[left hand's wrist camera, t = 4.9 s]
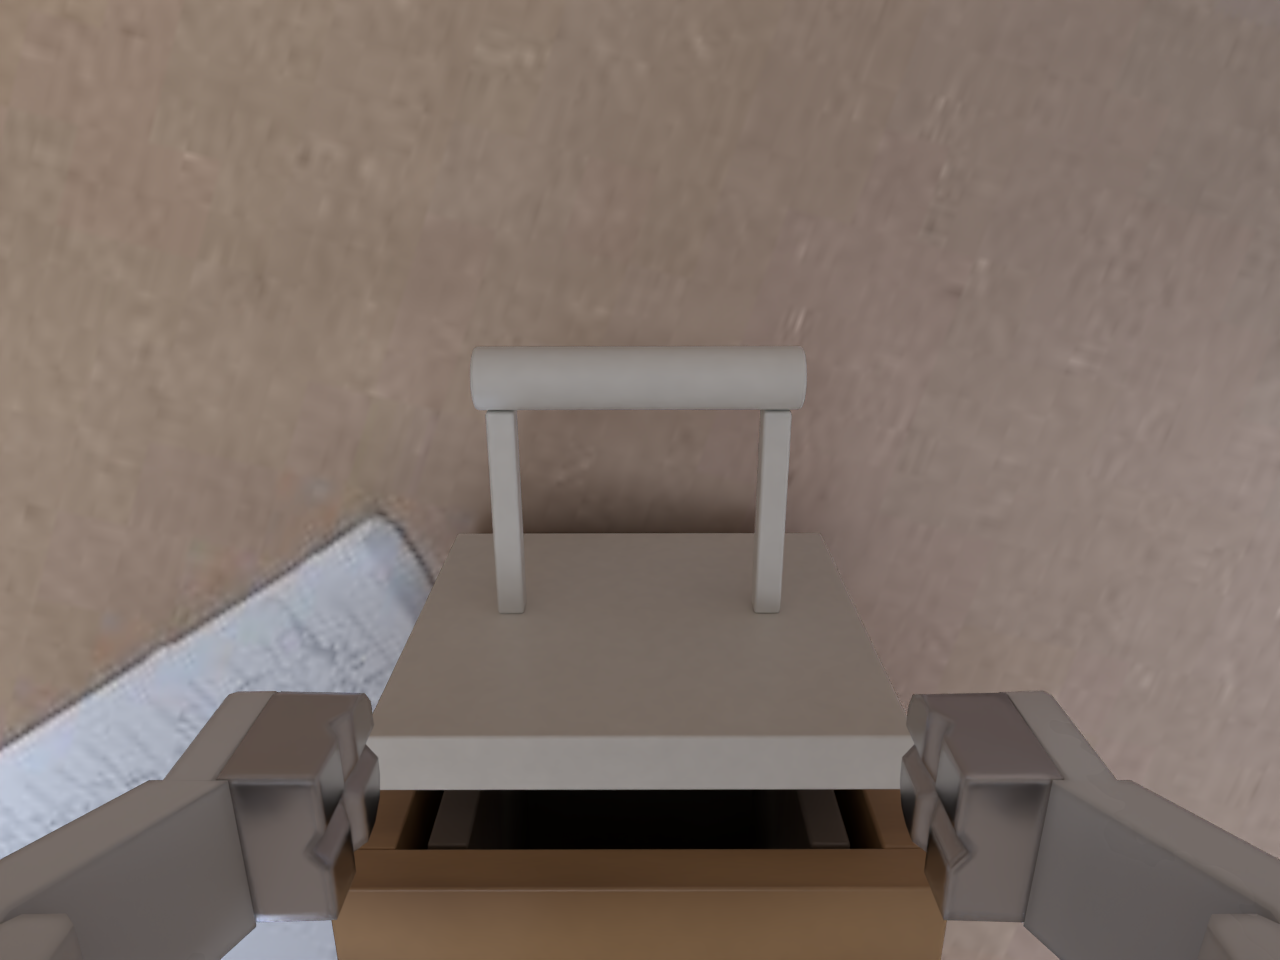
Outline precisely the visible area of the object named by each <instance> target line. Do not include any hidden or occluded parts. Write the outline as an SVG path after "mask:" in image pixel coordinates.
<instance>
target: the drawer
mask: <svg viewBox="0 0 1280 960" xmlns="http://www.w3.org/2000/svg"><path fill="white" fill-rule="evenodd" d="M806 387H807V363H806V356H805V352H804V349H803V347H801V346H477V347H475V348H474V350H473V352H472V356H471V363H470V388H471V396H472V401H473V404H474V406H475V408H476V409H478V410H488V411H487V413H486V415H485V417H486V433H487V448H488V464H489V479H490V495H491V510H492V526H493V534H458V535H457V537H456V539H455V541H454V543H453V546H452V548H451V550H450V552H449V554H448V556H447V558H446V560H445V562H444V565H443V567H442V569H441V571H440V573H439V575H438V577H437V579H436V581H435V584H434V586H433V588H432V590H431V592H430V594H429V596H428V598H427V600H426V603H425V605H424V607H423V609H422V611H421V613H420V615H419V617H418V619H417V622H416V624H415V626H414V628H413V630H412V632H411V634H410V636H409V638H408V641H407V643H406V645H405V647H404V649H403V651H402V653H401V655H400V657H399V660H398V662H397V664H396V666H395V668H394V670H393V672H392V674H391V676H390V678H389V681H388V683H387V685H386V687H385V689H384V691H383V693H382V695H381V697H380V700H379V702H378V704H377V706H376V708H375V710H374V712H373V721H374V726H373V729H372V731H371V733H370V735H369V738H368V740H367V742H366V745H367V746H368V747H369V748H370V749H371V750H372V751H373V752H374V753H375V755H376V756H377V757H378V760H379V769H380V790H444V793H443V796H442V799H441V803H440V806H439V809H438V813H437V816H436V819H435V822H434V826H433V829H432V832H431V835H430V839H429V842H428V850H454V849H850V842H849V839H848V835H847V832H846V829H845V825H844V822H843V819H842V815H841V812H840V809H839V806H838V802H837V799H836V796H835V792H834V789H900V773H901V762H902V757H903V756H904V755H905V754H906V752H907V751H908V750H909V749H910V748H911V747H912V746H913V745H914V742H913V740H912V737H911V735H910V733H909V731H908V728H907V726H906V721H907V716H906V714H905V712H904V709H903V707H902V705H901V703H900V701H899V699H898V697H897V695H896V693H895V690H894V688H893V686H892V684H891V682H890V680H889V678H888V676H887V673H886V671H885V669H884V667H883V665H882V663H881V661H880V659H879V657H878V654H877V652H876V650H875V648H874V646H873V644H872V642H871V640H870V637H869V635H868V633H867V631H866V629H865V627H864V625H863V623H862V621H861V618H860V616H859V614H858V612H857V610H856V608H855V606H854V604H853V601H852V599H851V597H850V595H849V593H848V591H847V589H846V587H845V585H844V582H843V580H842V578H841V576H840V574H839V572H838V570H837V568H836V565H835V563H834V561H833V559H832V557H831V555H830V553H829V551H828V549H827V546H826V544H825V542H824V540H823V538H822V536H821V534H820V533H785V521H786V504H787V487H788V470H789V454H790V437H791V420H792V414H791V412H790V410H798V409H801V408H802V406H803V404H804V400H805V396H806ZM517 410H760V427H759V448H758V470H757V491H756V512H755V533H551V534H523V518H522V499H521V480H520V460H519V441H518V421H517Z"/></svg>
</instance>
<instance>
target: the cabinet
mask: <svg viewBox="0 0 1280 960" xmlns="http://www.w3.org/2000/svg"><path fill="white" fill-rule="evenodd" d="M834 792H835V796H836V799H837V802H838V806H839V809H840V812H841V815H842V819H843V822H844V825H845V829H846V832H847V835H848V839H849V842H850V849H454V850H428V842H429V839H430V835H431V832H432V829H433V826H434V822H435V819H436V816H437V813H438V809H439V806H440V803H441V799H442V796H443V793H444V790H380V799H379V804H378V810H377V816H376V821H375V824H374V827H373V830H372V832H371V835H370V838H369V840H368V842H366V843H365V844H364V845H363V846H361V847H360V848H359V849H357V850H356V851H355V852H354V858H355V866H356V874H355V876H354V879H353V881H352V884H351V886H350V889H349V891H348V894H347V896H346V899H345V901H344V904H343V906H342V909H341V911H340V914H339V916H338V918H337V920H332V926H333V932H334V938H335V945H336V951H337V957H338V960H941V954H942V948H943V941H944V935H945V928H946V922H947V920H943V918H942V915H941V913H940V910H939V908H938V906H937V903H936V901H935V898H934V896H933V893H932V891H931V888H930V886H929V883H928V881H927V878H926V876H925V873H924V866H925V859H926V852H925V851H924V850H923V849H922V848H920V847H919V846H918V845H916V844H915V843H914V842H912V840H911V838H910V835H909V832H908V830H907V827H906V824H905V820H904V816H903V811H902V807H901V794H900V789H834Z"/></svg>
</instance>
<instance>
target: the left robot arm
mask: <svg viewBox="0 0 1280 960" xmlns="http://www.w3.org/2000/svg"><path fill="white" fill-rule="evenodd" d="M373 726H374V721H373V714H372V708H371V702H370V700H369V698H368V697H367V696H366V695H365V693H331V692H283V691H281V692H276V691H238V692H235V693H232V694H229V695H228V696H227V697H226V698H225V700H224V701H223V702H222V704H221V705H220V706H219V708H218V709H217V710H216V711H215V713H214V714H213V715H212V717H211V718H210V719H209V721H208V722H207V723H206V725H205V726H204V727H203V728H202V730H201V731H200V732H199V734H198V735H197V736H196V738H195V739H194V740H193V742H192V743H191V744H190V745H189V747H188V748H187V749H186V751H185V752H184V753H183V755H182V756H181V757H180V759H179V760H178V761H177V762H176V764H175V765H174V766H173V768H172V769H171V770H170V772H169V773H168V774H167V776H166V777H165V778H164V779H163V780H149V781H147V782H145V783H143V784H141V785H139V786H138V787H136V788H134V789H132V790H130V791H128V792H126V793H124V794H123V795H121V796H119V797H117V798H115V799H113V800H111V801H109V802H108V803H106V804H104V805H102V806H100V807H98V808H96V809H94V810H93V811H91V812H89V813H87V814H85V815H83V816H81V817H79V818H77V819H76V820H74V821H72V822H70V823H68V824H66V825H64V826H62V827H61V828H59V829H57V830H55V831H53V832H51V833H49V834H47V835H46V836H44V837H42V838H40V839H38V840H36V841H34V842H32V843H31V844H29V845H27V846H25V847H23V848H21V849H19V850H17V851H16V852H14V853H12V854H10V855H8V856H6V857H4V858H2V859H1V860H0V960H220V959H221V958H222V957H223V956H224V955H226V954H227V953H228V952H229V951H230V950H231V949H232V948H233V947H234V946H235V945H237V944H238V943H239V942H240V941H241V940H242V939H243V938H244V937H245V936H247V935H248V934H249V933H250V932H251V931H252V930H253V929H254V928H255V927H256V922H281V921H316V920H337V918H338V916H339V914H340V911H341V909H342V906H343V904H344V901H345V899H346V896H347V894H348V891H349V889H350V886H351V884H352V881H353V879H354V876H355V874H356V866H355V858H354V852H355V851H356V850H357V849H359V848H360V847H361V846H363V845H364V844H365V843H366V842H368V840H369V838H370V835H371V832H372V830H373V827H374V824H375V821H376V816H377V810H378V804H379V799H380V769H379V760H378V757H377V756H376V755H375V753H374V752H373V751H372V750H371V749H370V748H369V747H368V746H367V745H366V742H367V740H368V738H369V735H370V733H371V731H372V729H373ZM906 726H907V728H908V731H909V733H910V735H911V737H912V740H913V742H914V745H913V746H912V747H911V748H910V749H909V750H908V751H907V752H906V754H905V755H904V756H903V757H902V762H901V773H900V794H901V807H902V811H903V816H904V820H905V824H906V827H907V830H908V832H909V835H910V838H911V840H912V842H914V843H915V844H916V845H918V846H919V847H920V848H922V849H923V850H924V851H925V852H926V859H925V866H924V873H925V876H926V878H927V881H928V883H929V886H930V888H931V891H932V893H933V896H934V898H935V901H936V903H937V906H938V908H939V910H940V913H941V915H942V918H943V920H962V921H998V922H1024V927H1025V928H1026V929H1027V930H1029V931H1030V932H1031V933H1032V934H1033V935H1034V936H1035V937H1036V938H1037V939H1038V940H1040V941H1041V942H1042V943H1043V944H1044V945H1045V946H1046V947H1047V948H1048V949H1050V950H1051V951H1052V952H1053V953H1054V954H1055V955H1056V956H1057V957H1058V958H1059V959H1061V960H1280V860H1279V859H1277V858H1275V857H1273V856H1272V855H1270V854H1268V853H1266V852H1264V851H1262V850H1260V849H1259V848H1257V847H1255V846H1253V845H1251V844H1249V843H1247V842H1245V841H1244V840H1242V839H1240V838H1238V837H1236V836H1234V835H1232V834H1230V833H1229V832H1227V831H1225V830H1223V829H1221V828H1219V827H1217V826H1216V825H1214V824H1212V823H1210V822H1208V821H1206V820H1204V819H1202V818H1201V817H1199V816H1197V815H1195V814H1193V813H1191V812H1189V811H1187V810H1186V809H1184V808H1182V807H1180V806H1178V805H1176V804H1174V803H1173V802H1171V801H1169V800H1167V799H1165V798H1163V797H1161V796H1159V795H1158V794H1156V793H1154V792H1152V791H1150V790H1148V789H1146V788H1144V787H1143V786H1141V785H1139V784H1137V783H1135V782H1133V781H1131V780H1117V779H1116V778H1115V777H1114V775H1113V774H1112V773H1111V772H1110V770H1109V769H1108V768H1107V766H1106V765H1105V764H1104V762H1103V761H1102V760H1101V759H1100V757H1099V756H1098V755H1097V753H1096V752H1095V751H1094V749H1093V748H1092V747H1091V746H1090V744H1089V743H1088V742H1087V740H1086V739H1085V738H1084V736H1083V735H1082V734H1081V733H1080V731H1079V730H1078V729H1077V727H1076V726H1075V725H1074V723H1073V722H1072V721H1071V720H1070V718H1069V717H1068V716H1067V714H1066V713H1065V712H1064V710H1063V709H1062V708H1061V707H1060V705H1059V704H1058V703H1057V701H1056V700H1055V699H1054V697H1053V696H1052V695H1050V694H1048V693H1046V692H1044V691H1018V692H1000V693H964V694H913V696H912V698H911V701H910V704H909V706H908V714H907V721H906Z"/></svg>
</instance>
